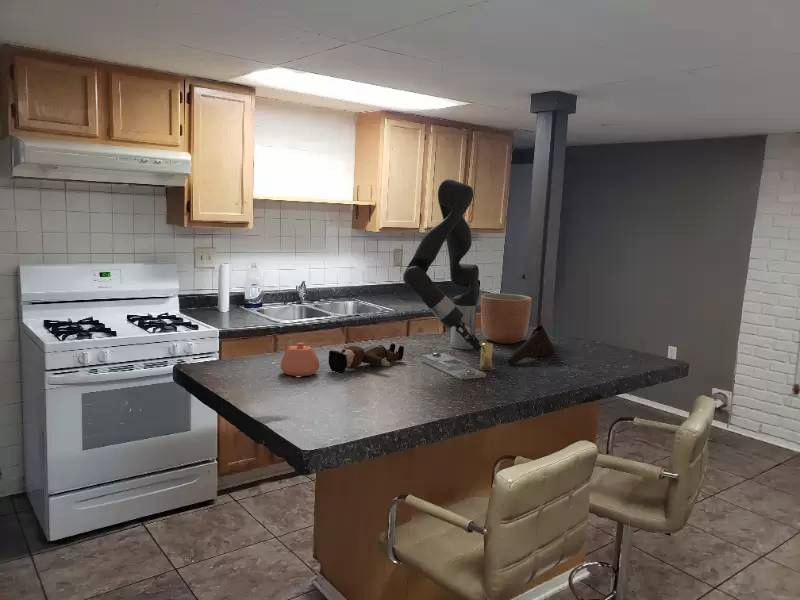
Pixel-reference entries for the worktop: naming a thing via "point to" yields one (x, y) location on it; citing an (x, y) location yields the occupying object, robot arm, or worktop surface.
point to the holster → (534, 347)
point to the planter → (505, 317)
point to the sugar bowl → (299, 360)
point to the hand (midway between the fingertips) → (478, 346)
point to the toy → (363, 356)
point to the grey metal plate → (452, 365)
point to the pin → (486, 356)
